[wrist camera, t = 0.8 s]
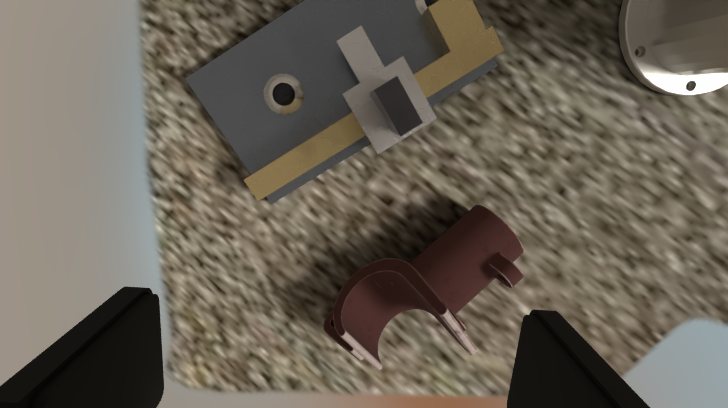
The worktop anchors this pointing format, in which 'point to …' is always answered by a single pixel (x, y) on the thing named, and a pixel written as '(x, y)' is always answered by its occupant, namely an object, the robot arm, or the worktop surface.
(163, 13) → the worktop surface
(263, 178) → the beam
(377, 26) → the hole plate
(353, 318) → the bracket
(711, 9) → the robot arm
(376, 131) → the slider
